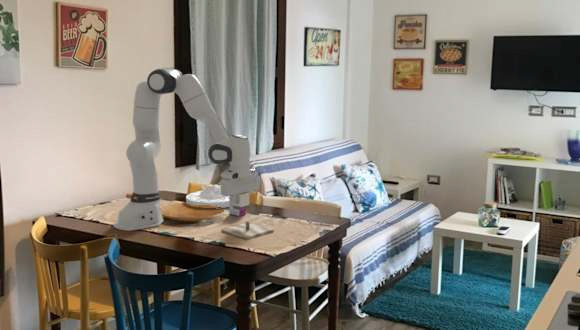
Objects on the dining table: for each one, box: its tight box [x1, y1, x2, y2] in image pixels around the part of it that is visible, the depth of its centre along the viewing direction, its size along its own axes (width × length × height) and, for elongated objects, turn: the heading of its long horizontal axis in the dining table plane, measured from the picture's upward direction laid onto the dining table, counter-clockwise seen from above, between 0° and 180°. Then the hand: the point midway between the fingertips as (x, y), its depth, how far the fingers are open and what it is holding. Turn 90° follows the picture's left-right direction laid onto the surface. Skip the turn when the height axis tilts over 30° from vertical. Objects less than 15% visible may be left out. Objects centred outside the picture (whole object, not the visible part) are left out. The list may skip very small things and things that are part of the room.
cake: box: [185, 183, 229, 209], centre depth 324 cm, size 28×28×10 cm
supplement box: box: [228, 196, 247, 217], centre depth 299 cm, size 6×6×12 cm
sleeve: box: [233, 192, 250, 210], centre depth 277 cm, size 5×5×7 cm
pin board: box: [221, 221, 275, 240], centre depth 272 cm, size 16×16×4 cm
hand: (241, 202), depth 277 cm, fingers closed on sleeve, 5 cm apart
